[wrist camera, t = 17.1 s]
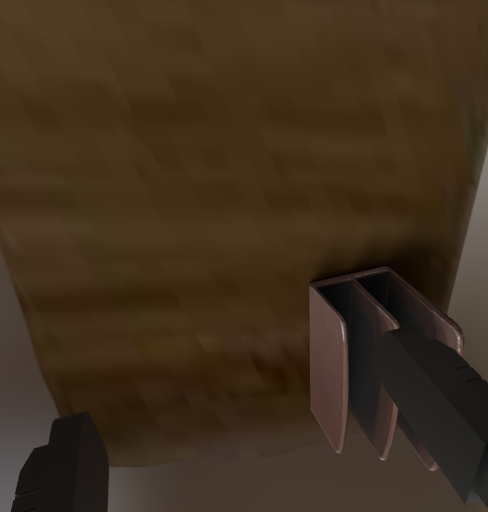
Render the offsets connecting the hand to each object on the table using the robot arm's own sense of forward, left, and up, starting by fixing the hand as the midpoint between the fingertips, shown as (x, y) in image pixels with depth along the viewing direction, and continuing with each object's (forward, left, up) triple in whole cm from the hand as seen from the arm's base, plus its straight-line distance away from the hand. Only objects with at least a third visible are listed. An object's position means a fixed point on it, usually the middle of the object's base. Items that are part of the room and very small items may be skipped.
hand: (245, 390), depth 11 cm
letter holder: (-16, +28, -29) cm, 43 cm away
